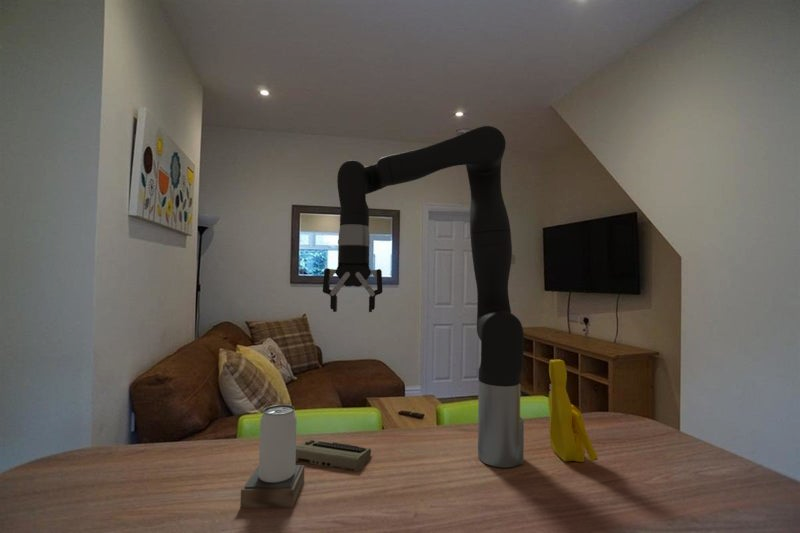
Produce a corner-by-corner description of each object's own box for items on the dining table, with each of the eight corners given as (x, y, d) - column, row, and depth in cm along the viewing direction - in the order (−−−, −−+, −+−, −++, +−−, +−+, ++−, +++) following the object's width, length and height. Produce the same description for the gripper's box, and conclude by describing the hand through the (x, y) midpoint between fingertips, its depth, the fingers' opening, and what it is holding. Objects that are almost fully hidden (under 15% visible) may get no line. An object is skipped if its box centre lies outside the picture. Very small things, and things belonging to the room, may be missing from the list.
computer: (371, 457, 87) (371, 442, 87) (357, 473, 80) (358, 457, 80) (309, 448, 92) (309, 433, 92) (291, 463, 84) (291, 447, 84)
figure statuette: (606, 475, 79) (605, 368, 80) (570, 476, 79) (569, 368, 80) (563, 440, 97) (563, 353, 98) (533, 441, 96) (533, 353, 97)
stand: (304, 481, 75) (304, 463, 76) (293, 507, 66) (293, 488, 67) (257, 481, 75) (258, 463, 75) (240, 507, 66) (240, 488, 66)
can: (250, 479, 69) (252, 412, 70) (275, 464, 75) (276, 402, 76) (279, 487, 67) (281, 417, 67) (302, 471, 73) (304, 406, 73)
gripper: (383, 247, 97) (382, 311, 97) (326, 246, 97) (325, 310, 96) (383, 243, 90) (381, 313, 89) (321, 242, 89) (320, 312, 89)
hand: (352, 311), depth 93 cm, fingers open, 8 cm apart
